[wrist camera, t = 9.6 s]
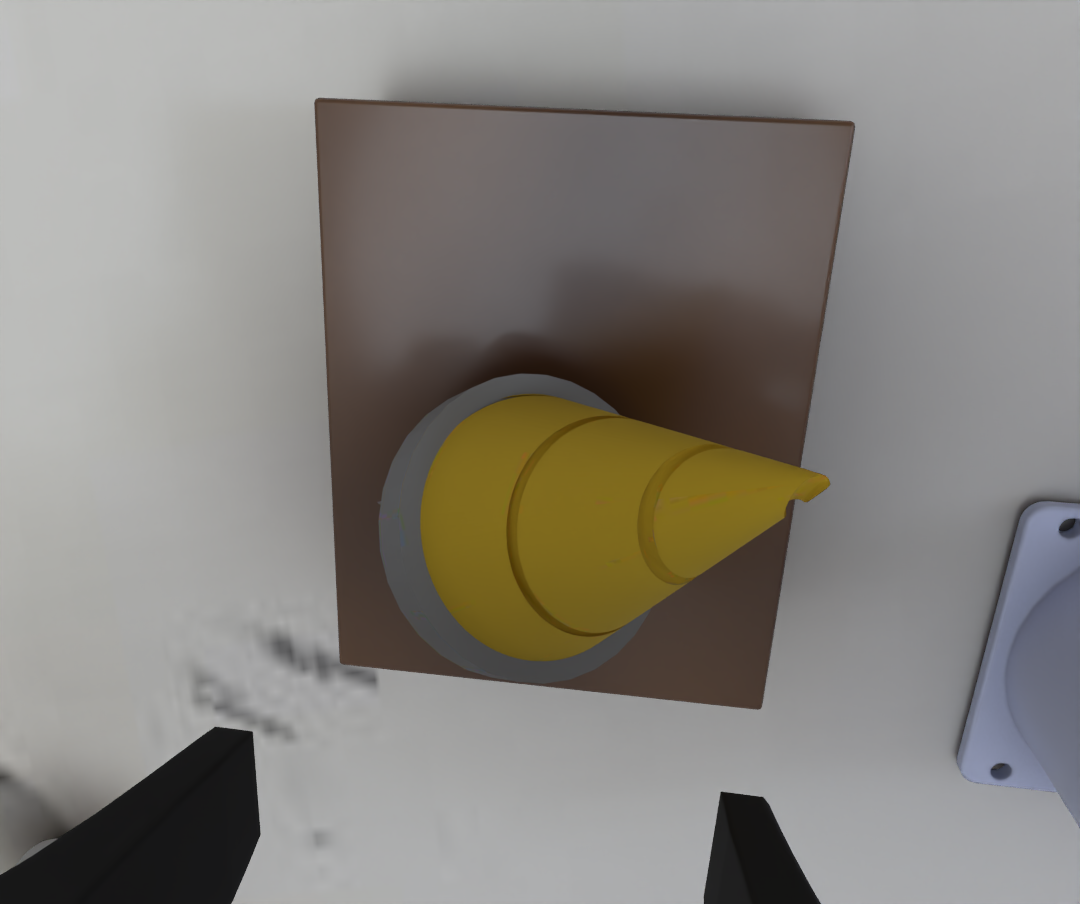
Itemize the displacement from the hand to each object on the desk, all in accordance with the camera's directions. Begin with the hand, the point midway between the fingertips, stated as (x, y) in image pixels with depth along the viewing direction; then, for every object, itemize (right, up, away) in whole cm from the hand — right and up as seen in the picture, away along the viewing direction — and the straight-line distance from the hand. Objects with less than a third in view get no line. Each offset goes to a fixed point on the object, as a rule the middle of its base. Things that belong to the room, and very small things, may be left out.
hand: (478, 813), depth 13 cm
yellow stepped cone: (+2, +6, +4) cm, 7 cm away
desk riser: (+2, +7, +8) cm, 11 cm away
